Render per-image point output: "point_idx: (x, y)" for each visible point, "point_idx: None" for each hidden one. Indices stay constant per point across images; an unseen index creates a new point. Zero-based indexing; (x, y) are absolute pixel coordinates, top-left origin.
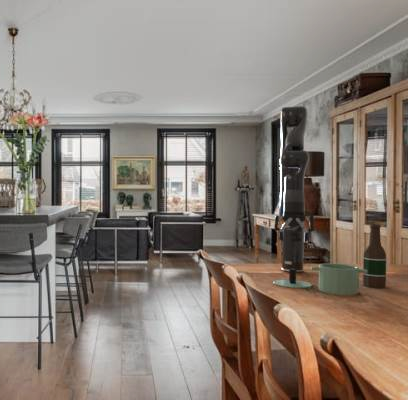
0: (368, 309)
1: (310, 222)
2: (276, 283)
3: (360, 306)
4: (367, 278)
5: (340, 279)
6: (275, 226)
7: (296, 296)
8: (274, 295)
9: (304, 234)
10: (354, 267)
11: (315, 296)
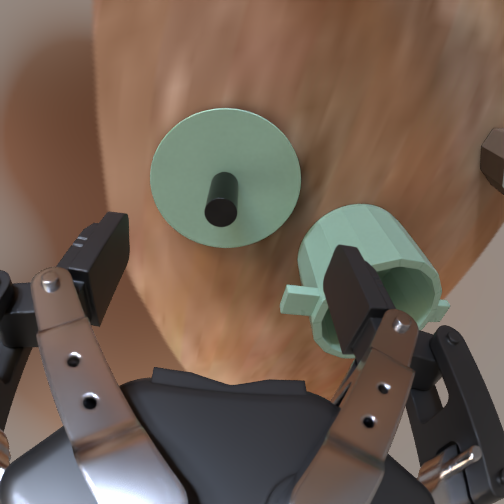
0: (324, 370)
1: (424, 457)
2: (158, 205)
3: (323, 359)
4: (495, 176)
5: None
6: (3, 362)
7: (207, 316)
8: (152, 314)
9: (349, 319)
10: (430, 305)
11: (260, 309)
